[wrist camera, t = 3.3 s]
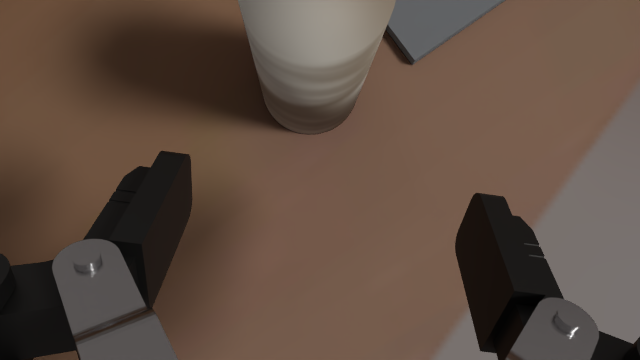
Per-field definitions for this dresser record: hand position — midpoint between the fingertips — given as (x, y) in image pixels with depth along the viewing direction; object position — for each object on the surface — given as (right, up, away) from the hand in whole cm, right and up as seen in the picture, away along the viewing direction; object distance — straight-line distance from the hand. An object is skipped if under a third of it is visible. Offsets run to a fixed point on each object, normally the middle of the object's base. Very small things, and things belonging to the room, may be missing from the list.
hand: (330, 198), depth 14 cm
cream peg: (-1, +5, +11) cm, 12 cm away
